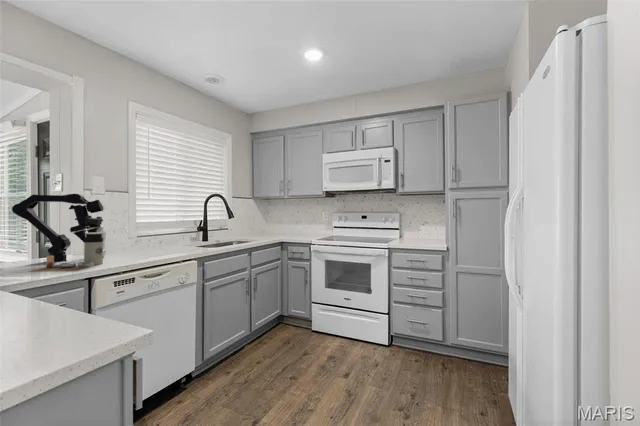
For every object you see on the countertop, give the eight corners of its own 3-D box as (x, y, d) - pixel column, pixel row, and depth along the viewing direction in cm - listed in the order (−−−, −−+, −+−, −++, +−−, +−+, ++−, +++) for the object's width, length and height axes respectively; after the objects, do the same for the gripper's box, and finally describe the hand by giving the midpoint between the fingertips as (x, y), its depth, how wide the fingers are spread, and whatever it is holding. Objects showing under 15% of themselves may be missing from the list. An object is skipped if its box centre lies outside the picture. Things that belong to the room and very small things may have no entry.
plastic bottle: (108, 257, 195) (108, 225, 195) (96, 258, 188) (97, 226, 188) (102, 256, 197) (102, 225, 197) (90, 257, 191) (91, 225, 191)
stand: (27, 274, 140) (27, 266, 140) (49, 268, 154) (49, 261, 154) (77, 273, 143) (77, 266, 143) (94, 268, 157) (94, 261, 157)
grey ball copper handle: (78, 265, 155) (78, 254, 155) (70, 267, 149) (71, 256, 149) (51, 266, 153) (51, 255, 153) (42, 268, 147) (42, 256, 147)
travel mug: (80, 266, 160) (81, 232, 160) (97, 264, 167) (98, 232, 167) (88, 268, 156) (89, 233, 156) (105, 266, 163) (106, 232, 163)
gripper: (87, 212, 165) (95, 240, 167) (106, 211, 184) (113, 235, 185) (65, 217, 164) (74, 245, 165) (86, 215, 182) (94, 240, 184)
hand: (90, 241), depth 175 cm, fingers open, 9 cm apart
